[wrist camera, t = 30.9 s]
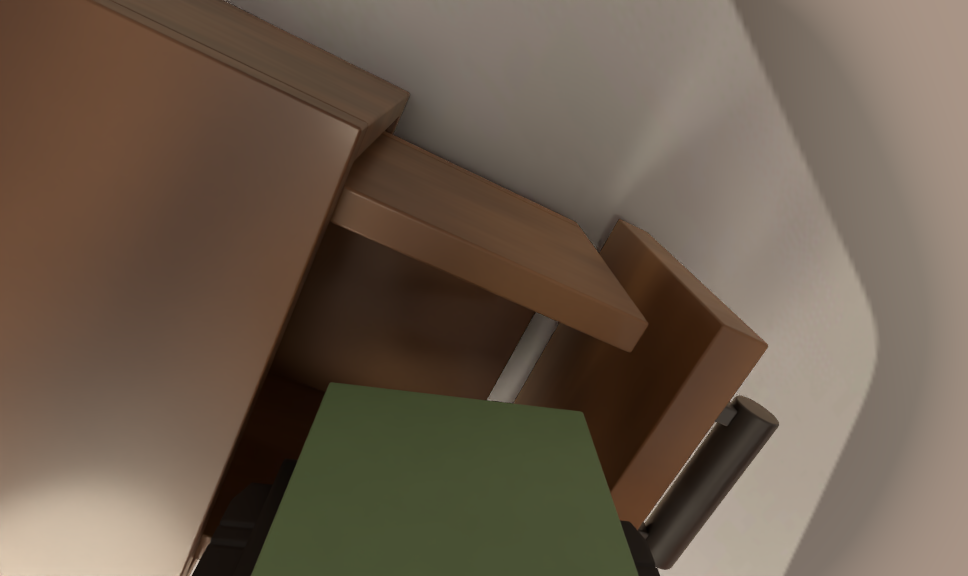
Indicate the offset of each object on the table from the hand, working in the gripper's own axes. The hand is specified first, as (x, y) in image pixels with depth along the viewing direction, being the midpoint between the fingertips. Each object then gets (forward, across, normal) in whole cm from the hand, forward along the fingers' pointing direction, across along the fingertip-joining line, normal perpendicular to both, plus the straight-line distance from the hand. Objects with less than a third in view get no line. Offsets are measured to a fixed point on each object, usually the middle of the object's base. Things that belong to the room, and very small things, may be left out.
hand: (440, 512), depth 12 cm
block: (0, 0, 0) cm, 0 cm away
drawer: (+10, -1, 0) cm, 10 cm away
